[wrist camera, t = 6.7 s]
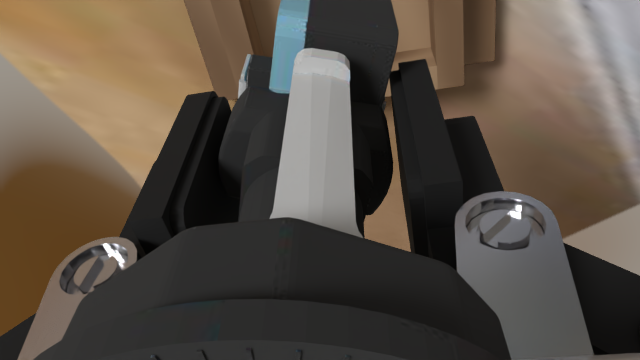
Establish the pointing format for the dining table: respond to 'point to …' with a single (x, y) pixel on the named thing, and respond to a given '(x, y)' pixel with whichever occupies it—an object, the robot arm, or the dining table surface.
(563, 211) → the dining table surface
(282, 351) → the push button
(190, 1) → the brown wooden divided tray
